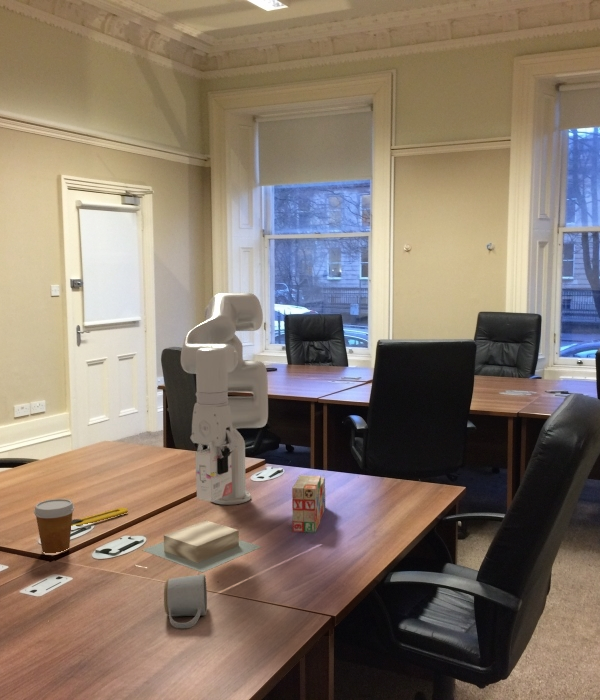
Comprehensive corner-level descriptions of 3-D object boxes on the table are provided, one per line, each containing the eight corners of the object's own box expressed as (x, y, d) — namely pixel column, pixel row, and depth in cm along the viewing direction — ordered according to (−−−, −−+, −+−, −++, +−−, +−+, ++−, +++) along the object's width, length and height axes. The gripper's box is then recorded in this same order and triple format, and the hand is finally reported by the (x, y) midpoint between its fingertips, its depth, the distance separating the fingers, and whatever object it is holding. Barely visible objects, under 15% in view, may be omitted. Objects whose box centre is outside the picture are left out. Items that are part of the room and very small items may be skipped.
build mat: (141, 551, 175) (141, 549, 175) (201, 529, 190) (201, 527, 190) (202, 574, 161) (202, 572, 161) (261, 548, 176) (261, 546, 176)
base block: (164, 551, 174) (163, 535, 174) (205, 535, 185) (205, 520, 184) (197, 562, 166) (196, 546, 166) (238, 545, 177) (238, 530, 177)
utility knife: (47, 529, 192) (47, 522, 192) (118, 509, 209) (118, 503, 209) (60, 535, 188) (60, 528, 187) (132, 514, 204) (132, 508, 204)
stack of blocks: (304, 507, 209) (304, 466, 208) (325, 508, 208) (325, 467, 207) (292, 532, 188) (291, 487, 187) (315, 533, 187) (315, 487, 186)
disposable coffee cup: (38, 561, 169) (36, 512, 168) (33, 548, 178) (31, 501, 177) (79, 554, 174) (77, 506, 172) (72, 541, 182) (70, 496, 181)
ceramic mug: (167, 606, 145) (166, 570, 144) (207, 604, 146) (206, 568, 145) (162, 632, 135) (161, 593, 134) (205, 629, 135) (204, 591, 135)
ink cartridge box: (216, 490, 179) (215, 433, 178) (232, 493, 177) (231, 435, 175) (195, 499, 172) (194, 440, 170) (211, 502, 169) (210, 442, 168)
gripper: (176, 396, 174) (178, 468, 176) (227, 404, 164) (228, 480, 166) (198, 392, 180) (200, 462, 182) (248, 399, 170) (250, 473, 172)
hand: (213, 470), depth 174 cm, fingers closed on ink cartridge box, 5 cm apart
